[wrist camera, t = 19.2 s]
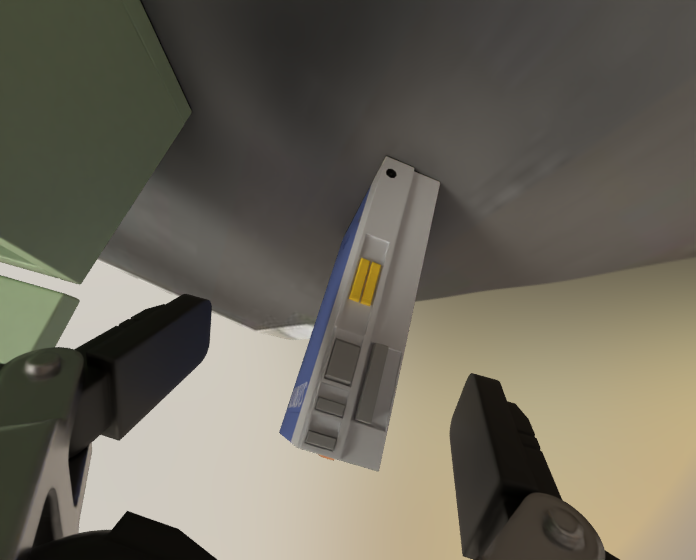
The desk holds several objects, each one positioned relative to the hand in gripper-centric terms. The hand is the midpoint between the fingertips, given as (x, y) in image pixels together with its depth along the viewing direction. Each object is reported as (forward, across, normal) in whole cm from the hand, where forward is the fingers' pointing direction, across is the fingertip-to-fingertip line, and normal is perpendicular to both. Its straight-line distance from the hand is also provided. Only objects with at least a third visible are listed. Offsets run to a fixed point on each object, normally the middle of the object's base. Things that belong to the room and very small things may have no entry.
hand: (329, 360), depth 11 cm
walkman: (+10, 0, -3) cm, 10 cm away
